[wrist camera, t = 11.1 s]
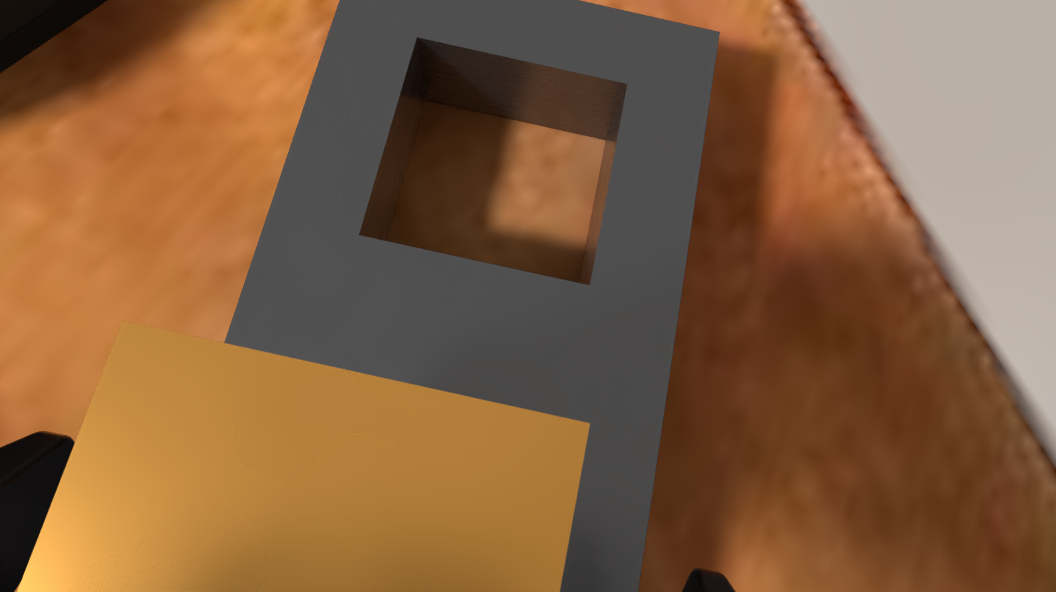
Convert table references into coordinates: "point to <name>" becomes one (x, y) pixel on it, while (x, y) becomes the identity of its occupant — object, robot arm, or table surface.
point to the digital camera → (35, 24)
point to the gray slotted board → (486, 289)
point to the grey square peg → (301, 481)
